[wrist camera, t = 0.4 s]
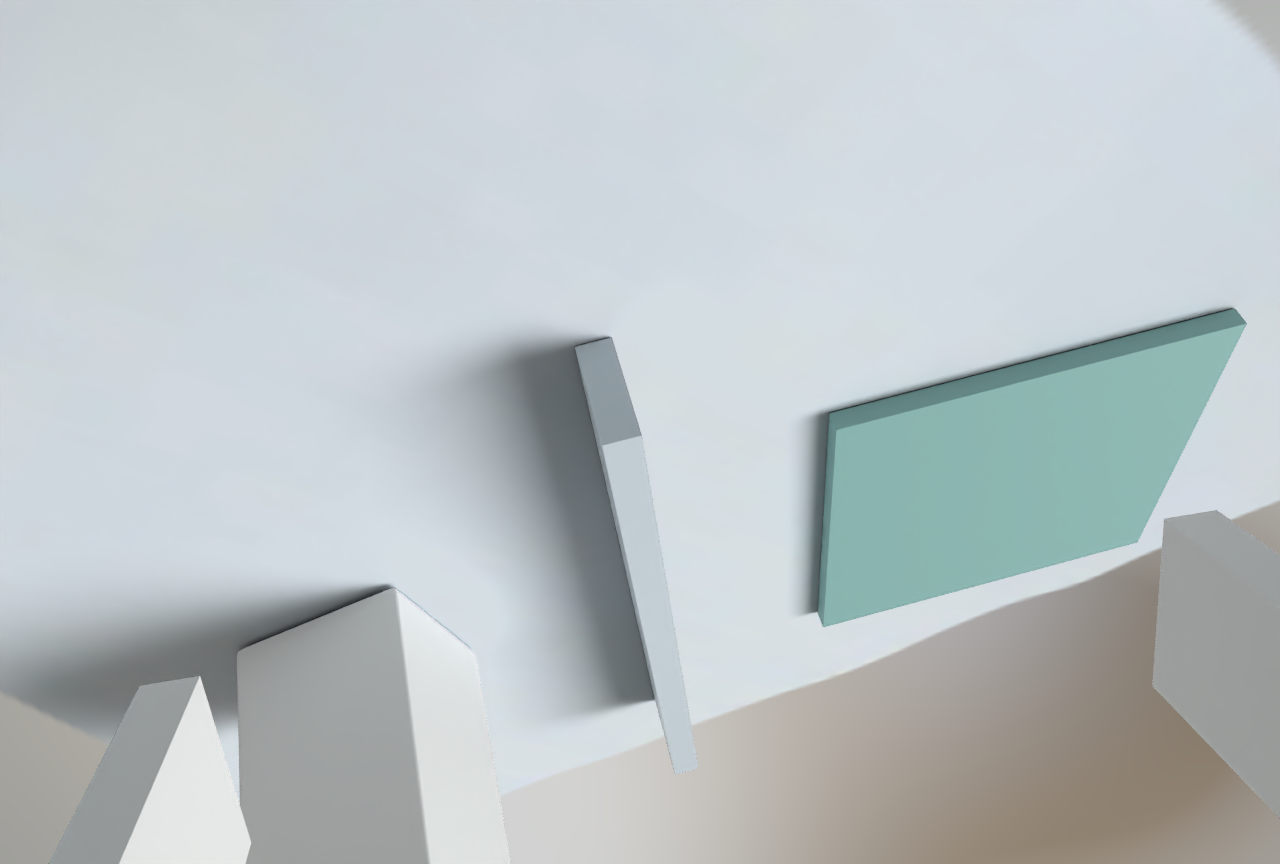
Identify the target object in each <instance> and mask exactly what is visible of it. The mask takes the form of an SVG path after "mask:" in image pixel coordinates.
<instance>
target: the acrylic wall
mask: <svg viewBox="0 0 1280 864" xmlns="http://www.w3.org/2000/svg"><path fill="white" fill-rule="evenodd" d="M575 350H576V355H577V359H578V364H579V368H580V372H581V377H582V381H583V386H584V390H585V394H586V399H587V403H588V407H589V412H590V416H591V421H592V425H593V429H594V434H595V438H596V443H597V447H598V451H599V456H600V460H601V465H602V469H603V473H604V478H605V482H606V487H607V491H608V495H609V500H610V504H611V508H612V513H613V517H614V522H615V526H616V530H617V535H618V539H619V544H620V548H621V552H622V557H623V561H624V566H625V570H626V574H627V579H628V583H629V588H630V592H631V596H632V601H633V605H634V609H635V614H636V618H637V623H638V627H639V631H640V636H641V640H642V645H643V649H644V653H645V658H646V662H647V667H648V671H649V675H650V680H651V684H652V689H653V693H654V697H655V702H656V705H657V709H658V713H659V717H660V720H661V724H662V728H663V732H664V735H665V739H666V743H667V747H668V750H669V754H670V758H671V761H672V765H673V769H674V773H675V774H678V773H683V772H686V771H689V770H693V769H697V768H698V763H697V757H696V751H695V745H694V739H693V734H692V728H691V722H690V716H689V710H688V704H687V698H686V692H685V687H684V681H683V675H682V669H681V663H680V657H679V651H678V646H677V640H676V634H675V628H674V622H673V616H672V610H671V604H670V599H669V593H668V587H667V581H666V575H665V569H664V563H663V558H662V552H661V546H660V540H659V534H658V528H657V522H656V516H655V511H654V505H653V499H652V493H651V487H650V481H649V475H648V470H647V464H646V458H645V452H644V446H643V440H642V435H641V432H640V428H639V425H638V422H637V418H636V415H635V412H634V409H633V405H632V402H631V399H630V396H629V392H628V389H627V386H626V383H625V379H624V376H623V373H622V369H621V366H620V363H619V360H618V356H617V353H616V350H615V347H614V343H613V340H612V337H611V338H607V339H603V340H599V341H595V342H592V343H588V344H584V345H580V346H576V347H575Z"/></svg>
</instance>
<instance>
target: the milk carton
mask: <svg viewBox="0 0 1280 864" xmlns="http://www.w3.org/2000/svg"><path fill="white" fill-rule="evenodd" d="M237 691H238V736H239V781H240V807H241V811H242V814H243V817H244V820H245V824H246V827H247V830H248V833H249V837H250V840H251V846H250V849H249V853H248V856H247V860H246V863H245V864H511V862H510V856H509V850H508V844H507V838H506V832H505V826H504V820H503V814H502V808H501V802H500V796H499V790H498V784H497V778H496V772H495V766H494V760H493V754H492V747H491V741H490V735H489V729H488V723H487V717H486V711H485V705H484V699H483V693H482V687H481V681H480V675H479V669H478V663H477V658H476V654H475V653H474V652H473V651H472V650H471V649H470V648H469V647H467V646H466V645H465V644H464V643H462V642H461V641H460V640H459V639H457V638H456V637H455V636H454V635H453V634H451V633H450V632H449V631H448V630H446V629H445V628H444V627H443V626H441V625H440V624H439V623H438V622H436V621H435V620H434V619H433V618H431V617H430V616H429V615H428V614H427V613H425V612H424V611H423V610H422V609H420V608H419V607H418V606H417V605H415V604H414V603H413V602H412V601H410V600H409V599H408V598H407V597H405V596H404V595H403V594H402V593H400V592H399V591H398V590H397V589H395V588H392V589H389V590H386V591H383V592H381V593H378V594H376V595H373V596H371V597H368V598H366V599H363V600H361V601H358V602H356V603H353V604H351V605H349V606H346V607H344V608H341V609H339V610H336V611H334V612H331V613H329V614H327V615H324V616H322V617H319V618H317V619H314V620H312V621H309V622H307V623H304V624H302V625H300V626H297V627H295V628H292V629H290V630H287V631H285V632H282V633H280V634H278V635H275V636H273V637H270V638H268V639H265V640H263V641H260V642H258V643H256V644H253V645H251V646H248V647H246V648H244V649H242V650H240V651H238V654H237Z"/></svg>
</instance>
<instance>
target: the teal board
mask: <svg viewBox="0 0 1280 864" xmlns="http://www.w3.org/2000/svg"><path fill="white" fill-rule="evenodd" d="M1246 324H1247V323H1246V322H1245V321H1244V319H1243V318H1242V317H1241V316H1240V314H1239V313H1238V312H1237V310H1236V309H1231V310H1227V311H1223V312H1219V313H1215V314H1211V315H1208V316H1204V317H1200V318H1196V319H1192V320H1188V321H1184V322H1181V323H1177V324H1173V325H1169V326H1165V327H1161V328H1157V329H1153V330H1150V331H1146V332H1142V333H1138V334H1134V335H1130V336H1126V337H1123V338H1119V339H1115V340H1111V341H1107V342H1103V343H1099V344H1095V345H1092V346H1088V347H1084V348H1080V349H1076V350H1072V351H1068V352H1065V353H1061V354H1057V355H1053V356H1049V357H1045V358H1041V359H1037V360H1034V361H1030V362H1026V363H1022V364H1018V365H1014V366H1010V367H1007V368H1003V369H999V370H995V371H991V372H987V373H983V374H979V375H976V376H972V377H968V378H964V379H960V380H956V381H952V382H949V383H945V384H941V385H937V386H933V387H929V388H925V389H921V390H918V391H914V392H910V393H906V394H902V395H898V396H894V397H891V398H887V399H883V400H879V401H875V402H871V403H867V404H863V405H860V406H856V407H852V408H848V409H844V410H840V411H836V412H833V413H829V426H828V443H827V461H826V478H825V496H824V513H823V531H822V548H821V566H820V583H819V601H818V615H819V617H820V620H821V623H822V625H823V627H826V626H830V625H834V624H837V623H841V622H845V621H848V620H852V619H856V618H859V617H863V616H867V615H871V614H874V613H878V612H882V611H885V610H889V609H893V608H896V607H900V606H904V605H908V604H911V603H915V602H919V601H922V600H926V599H930V598H933V597H937V596H941V595H944V594H948V593H952V592H956V591H959V590H963V589H967V588H970V587H974V586H978V585H981V584H985V583H989V582H992V581H996V580H1000V579H1004V578H1007V577H1011V576H1015V575H1018V574H1022V573H1026V572H1029V571H1033V570H1037V569H1041V568H1044V567H1048V566H1052V565H1055V564H1059V563H1063V562H1066V561H1070V560H1074V559H1077V558H1081V557H1085V556H1089V555H1092V554H1096V553H1100V552H1103V551H1107V550H1111V549H1114V548H1118V547H1122V546H1126V545H1129V544H1133V543H1137V542H1138V540H1139V538H1140V536H1141V534H1142V532H1143V530H1144V528H1145V526H1146V524H1147V522H1148V520H1149V518H1150V516H1151V514H1152V512H1153V510H1154V508H1155V506H1156V504H1157V502H1158V500H1159V498H1160V496H1161V494H1162V492H1163V490H1164V488H1165V486H1166V484H1167V482H1168V480H1169V478H1170V476H1171V474H1172V472H1173V470H1174V468H1175V466H1176V464H1177V462H1178V460H1179V458H1180V456H1181V454H1182V452H1183V450H1184V448H1185V446H1186V444H1187V442H1188V440H1189V438H1190V436H1191V434H1192V432H1193V430H1194V428H1195V426H1196V424H1197V422H1198V420H1199V418H1200V416H1201V414H1202V412H1203V410H1204V408H1205V406H1206V404H1207V402H1208V400H1209V398H1210V396H1211V394H1212V392H1213V390H1214V388H1215V386H1216V384H1217V382H1218V380H1219V378H1220V376H1221V374H1222V372H1223V370H1224V368H1225V366H1226V364H1227V362H1228V360H1229V358H1230V356H1231V354H1232V352H1233V350H1234V348H1235V346H1236V344H1237V342H1238V340H1239V338H1240V336H1241V334H1242V332H1243V330H1244V328H1245V326H1246Z"/></svg>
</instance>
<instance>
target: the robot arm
mask: <svg viewBox="0 0 1280 864" xmlns="http://www.w3.org/2000/svg"><path fill="white" fill-rule="evenodd" d="M1155 643H1156V644H1155V656H1154V670H1153V685H1152V686H1153V687H1154V688H1155V689H1156V690H1157V691H1158V692H1159V693H1160V694H1161V695H1162V696H1163V697H1164V698H1165V699H1166V701H1167V702H1168V703H1170V705H1171V706H1172V707H1173V708H1174V709H1175V710H1176V711H1177V712H1178V713H1179V714H1180V715H1181V716H1182V717H1183V718H1184V719H1185V720H1186V721H1187V722H1188V723H1189V724H1190V726H1191V727H1192V728H1193V729H1194V730H1195V731H1196V732H1197V733H1198V734H1199V735H1200V736H1201V737H1202V738H1203V739H1204V740H1205V741H1206V742H1207V743H1208V744H1209V745H1210V746H1211V747H1212V748H1213V749H1214V750H1215V752H1216V753H1217V754H1218V755H1219V756H1220V757H1221V758H1222V759H1223V760H1224V761H1225V762H1226V763H1227V764H1228V765H1229V766H1230V767H1231V768H1232V769H1233V770H1234V771H1235V772H1236V773H1237V774H1238V776H1240V778H1241V779H1242V780H1243V781H1244V782H1245V783H1246V784H1247V785H1248V786H1249V787H1250V788H1251V789H1252V790H1253V791H1254V792H1255V793H1256V794H1257V795H1258V796H1259V797H1260V798H1261V799H1262V800H1263V802H1264V803H1265V804H1266V805H1267V806H1268V807H1269V808H1270V809H1271V810H1272V811H1273V812H1274V813H1275V814H1276V815H1277V816H1278V817H1279V818H1280V555H1279V554H1278V553H1276V552H1275V551H1274V550H1272V549H1271V548H1269V547H1268V546H1267V545H1265V544H1264V543H1262V542H1261V541H1259V540H1258V539H1257V538H1255V537H1254V536H1252V535H1251V534H1250V533H1248V532H1247V531H1245V530H1244V529H1242V528H1241V527H1240V526H1238V525H1237V524H1235V523H1234V522H1233V521H1231V520H1230V519H1228V518H1227V517H1225V516H1224V515H1223V514H1221V513H1220V512H1218V511H1217V510H1216V511H1210V512H1203V513H1197V514H1191V515H1185V516H1179V517H1173V518H1166V519H1164V528H1163V543H1162V557H1161V571H1160V585H1159V600H1158V614H1157V628H1156V642H1155ZM250 846H251V840H250V837H249V833H248V830H247V827H246V824H245V820H244V817H243V814H242V811H241V807H240V804H239V801H238V798H237V794H236V791H235V788H234V785H233V781H232V778H231V775H230V772H229V768H228V765H227V762H226V759H225V755H224V752H223V749H222V746H221V742H220V739H219V736H218V733H217V729H216V726H215V723H214V720H213V716H212V713H211V710H210V707H209V703H208V700H207V697H206V694H205V690H204V687H203V684H202V681H201V677H200V676H196V677H190V678H183V679H177V680H171V681H165V682H159V683H153V684H147V685H140V686H139V688H138V690H137V692H136V694H135V696H134V698H133V700H132V702H131V704H130V706H129V708H128V710H127V712H126V713H125V715H124V717H123V719H122V721H121V723H120V725H119V727H118V729H117V731H116V733H115V735H114V737H113V739H112V741H111V743H110V745H109V747H108V749H107V751H106V753H105V755H104V757H103V758H102V761H101V762H100V764H99V766H98V768H97V770H96V772H95V774H94V776H93V778H92V780H91V782H90V784H89V786H88V788H87V790H86V792H85V794H84V796H83V797H82V799H81V801H80V803H79V805H78V807H77V809H76V811H75V813H74V815H73V817H72V819H71V821H70V823H69V825H68V827H67V829H66V831H65V833H64V835H63V837H62V838H61V840H60V842H59V845H58V846H57V848H56V850H55V852H54V854H53V856H52V858H51V860H50V862H49V864H245V863H246V860H247V856H248V853H249V849H250Z"/></svg>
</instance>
